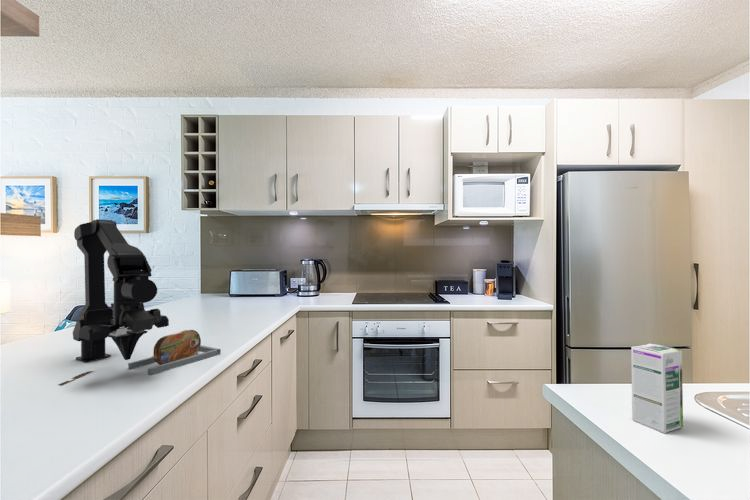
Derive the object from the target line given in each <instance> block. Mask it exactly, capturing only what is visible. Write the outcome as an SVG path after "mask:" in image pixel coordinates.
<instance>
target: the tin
mask: <svg viewBox="0 0 750 500" xmlns="http://www.w3.org/2000/svg"><path fill="white" fill-rule="evenodd" d="M200 335H201V334H199V332H198V331H197V330H195V329H184V330H182V331H178V332H175V333H172V334H167V335H164V336H162V337H160V338H159V339H158V340H157V341H156V342H155V344H154V346H153V351H152V352H153V357H154V360H155V362H156V364H157V365H158V366H159V365H162V364H166V363H169V362H173V361H176V360H180V359H183V358H187V357H190V356H194V355H198V353H199V352H200V351H199V349H200V345H202V340H201V336H200Z"/></svg>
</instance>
